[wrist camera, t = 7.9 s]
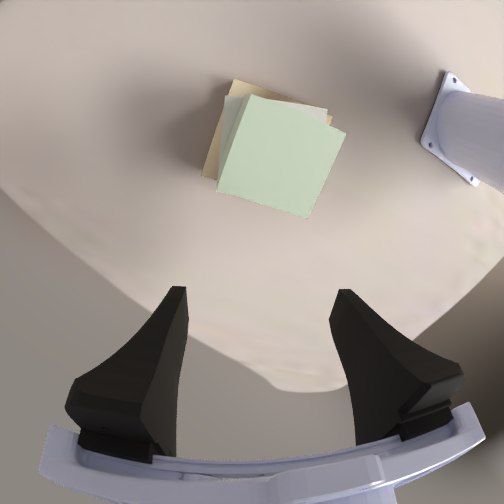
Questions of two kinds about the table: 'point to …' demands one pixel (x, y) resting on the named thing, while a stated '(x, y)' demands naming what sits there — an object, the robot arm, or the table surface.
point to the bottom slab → (214, 151)
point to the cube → (277, 156)
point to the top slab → (234, 102)
